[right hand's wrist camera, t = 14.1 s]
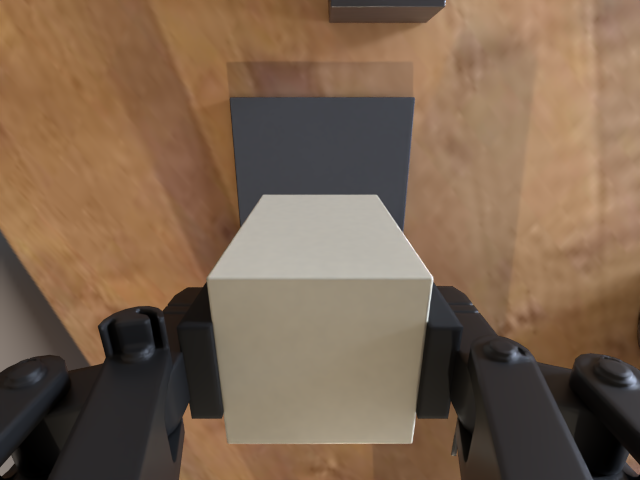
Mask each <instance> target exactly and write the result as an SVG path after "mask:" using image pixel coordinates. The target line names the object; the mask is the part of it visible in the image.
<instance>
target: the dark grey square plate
mask: <svg viewBox="0 0 640 480" xmlns="http://www.w3.org/2000/svg"><path fill="white" fill-rule="evenodd" d="M414 102H415V98H414V97H317V98H230V107H231V119H232V131H233V143H234V155H235V167H236V179H237V191H238V203H239V215H240V227H241V226H242V225H243V223H244V222H245V220H246V219H247V217H248V216H249V214H250V213H251V212H252V210H253V209H254V207H255V206H256V204H257V203H258V201H259V200H260V198H261V197H262V195H377V196H378V197H379V199H380V200H381V202H382V203H383V205H384V206H385V207H386V209H387V210H388V212H389V213H390V215H391V216H392V218H393V219H394V221H395V222H396V224H397V225H398V227H399V228H400V230H401V231H402V233H403V228H404V216H405V205H406V193H407V182H408V171H409V159H410V148H411V136H412V125H413V114H414Z"/></svg>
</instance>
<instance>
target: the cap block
mask: <svg viewBox="0 0 640 480" xmlns="http://www.w3.org/2000/svg"><path fill="white" fill-rule="evenodd" d="M432 285H433V277H432V275H431V274H430V272H429V271H428V269H427V268H426V266H425V265H424V263H423V262H422V260H421V259H420V258H419V256H418V255H417V253H416V252H415V250H414V249H413V247H412V246H411V244H410V243H409V241H408V240H407V238H406V237H405V235H404V234H403V233H402V231H401V230H400V228H399V227H398V225H397V224H396V222H395V221H394V219H393V218H392V216H391V215H390V213H389V212H388V210H387V209H386V207H385V206H384V205H383V203H382V202H381V200H380V199H379V197H378V196H377V195H262V197H261V198H260V200H259V201H258V203H257V204H256V206H255V207H254V209H253V210H252V212H251V213H250V214H249V216H248V217H247V219H246V220H245V222H244V223H243V225H242V226H241V228H240V229H239V231H238V232H237V234H236V235H235V237H234V238H233V239H232V241H231V242H230V244H229V245H228V247H227V248H226V250H225V251H224V253H223V254H222V256H221V257H220V259H219V260H218V262H217V263H216V265H215V266H214V267H213V269H212V270H211V272H210V273H209V275H208V276H207V287H208V295H209V303H210V311H211V319H212V322H213V330H214V338H215V346H216V354H217V361H218V369H219V377H220V385H221V393H222V401H223V409H224V420H225V428H226V436H227V443H229V444H411V443H412V441H413V434H414V426H415V418H416V407H417V399H418V391H419V383H420V375H421V367H422V359H423V351H424V344H425V336H426V328H427V322H428V316H429V309H430V301H431V293H432Z"/></svg>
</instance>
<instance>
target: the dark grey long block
mask: <svg viewBox="0 0 640 480" xmlns="http://www.w3.org/2000/svg"><path fill="white" fill-rule="evenodd" d="M444 7H445V0H329V23H426V22H427V21H429V20H430V19H431V18H432V17H433V16H434V15H436V14H437V13H438V12H439V11H440V10H441V9H443V8H444Z"/></svg>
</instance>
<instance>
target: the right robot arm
mask: <svg viewBox="0 0 640 480" xmlns="http://www.w3.org/2000/svg"><path fill="white" fill-rule="evenodd" d="M98 329H99V333H100V336H101V340H102V344H103V348H104V352H105V355H106V359H105V361H104V363H103V364H99V365H95V366H90V367H85V368H80V369H76V370H71V371H68V370H67V366H66V363H65V360H63V359H62V358H61V357H60V356H53V355H46V356H37V357H33V358H30V359H26V360H23V361H20V362H19V363H17V364H15V365H12V366H10V367H8V368H6V369H5V370H3V371H2V372H0V467H1V466H2V465H3V463H4V462H5V461H6V460H7V459H8V458H9V457H10V456H12V458H13V460H14V463H15V464H14V465H13V466H12V467H11V468H10V470H9V471H8V472H6V473H5V474H4V475H3V476H2V477H1V476H0V480H179V474H180V466H181V458H182V450H183V442H184V434H185V431H184V424H183V418H182V417H183V414H184V412H185V410H186V408H187V405H188V403H189V404H190V410H191V416H192V419H222V416H223V413H224V409H223V401H222V393H221V385H220V377H219V369H218V361H217V354H216V346H215V338H214V330H213V322H212V319H211V311H210V303H209V295H208V287H207V282H206V283H205V285H204V286H203V287H188V288H186V289H184V290H183V291H181V292H180V293H178V294H176V295H175V296H174V297H173V299H172V300H171V301H170V302H169V304H168V306H166V307H165V309H164V310H163V311H161V310H160V309H159V308H155V307H151V306H138V307H133V308H128V309H125V310H122V311H119V312H117V313H114V314H112V315H111V316H109V317H107V318H106V319H104V320H103V321H102V322H101V323H100V324H99V325H98ZM638 343H639V347H640V320H639V325H638ZM451 402H452V404H453V406H454V409H455V411H456V413H457V415H458V418H457V424H456V429H455V435H454V440H453V446H452V453H451V455H453V456H456V453H457V449H458V457H459V465H460V473H461V480H640V475H638V474H637V473H635V472H634V471H633V470H632V469H631V468H630V466H629V465H628V464H627V463H626V459H627V457H628V455H629V453H630V454H631V455H632V457H633V458H634V459H635V460H636V461H637V462H638V463H639V464H640V371H639V370H638V369H636V368H635V367H633V366H632V365H629V364H627V363H625V362H623V361H621V360H620V359H617V358H614V357H610V356H606V355H600V354H592V353H589V354H582V355H580V356H579V357H577V358H576V359H575V362H574V365H573V368H572V369H567V368H562V367H557V366H553V365H548V364H543V363H539V362H536V360H535V358H534V356H533V355H532V354H531V353H530V351H529V350H528V349H526V348H525V347H524V346H522V345H521V344H519V343H517V342H515V341H513V340H511V339H508V338H505V337H501V336H498V335H497V334H496V333H495V332H494V330H493V329H492V328H491V326H490V325H489V324H488V323H487V321H486V320H485V319H484V318H483V316H482V315H481V314H480V313H478V310H477V309H476V308H475V306H474V305H472V302H471V301H470V300H469V299H468V297H467V296H466V295H465V294H464V293H462V292H461V291H459V290H457V289H456V288H454V287H453V286H436V285H435V284H434V282H433V285H432V293H431V301H430V309H429V316H428V322H427V328H426V336H425V344H424V351H423V359H422V367H421V375H420V383H419V391H418V399H417V407H416V414H417V417H418V419H448V415H449V409H450V403H451Z"/></svg>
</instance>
